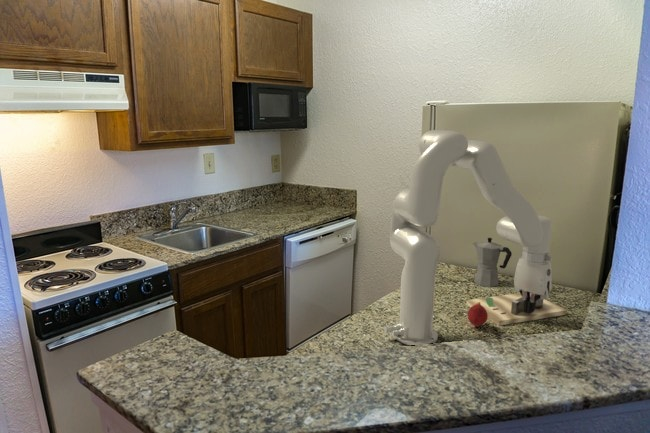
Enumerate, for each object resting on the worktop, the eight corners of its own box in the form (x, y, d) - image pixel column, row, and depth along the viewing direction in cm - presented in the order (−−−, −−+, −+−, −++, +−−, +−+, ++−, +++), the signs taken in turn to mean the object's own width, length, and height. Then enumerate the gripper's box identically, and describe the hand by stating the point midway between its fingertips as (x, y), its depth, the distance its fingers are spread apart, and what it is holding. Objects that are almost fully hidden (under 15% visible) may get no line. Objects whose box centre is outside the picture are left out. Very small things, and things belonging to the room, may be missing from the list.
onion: (487, 331, 139) (489, 306, 137) (467, 330, 140) (469, 305, 138) (485, 323, 144) (487, 299, 143) (466, 321, 146) (467, 297, 144)
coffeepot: (464, 281, 181) (467, 236, 177) (477, 275, 187) (480, 232, 183) (502, 292, 170) (506, 244, 166) (514, 285, 176) (518, 240, 172)
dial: (528, 299, 158) (529, 288, 158) (546, 305, 154) (547, 293, 153) (504, 310, 150) (505, 298, 149) (522, 317, 145) (524, 304, 144)
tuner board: (499, 325, 143) (499, 320, 143) (466, 304, 159) (466, 299, 158) (566, 314, 151) (566, 309, 150) (528, 295, 167) (529, 290, 166)
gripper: (565, 259, 139) (558, 317, 143) (518, 248, 150) (513, 301, 154) (552, 264, 134) (546, 323, 138) (505, 252, 146) (500, 307, 150)
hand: (528, 311), depth 146 cm, fingers closed
